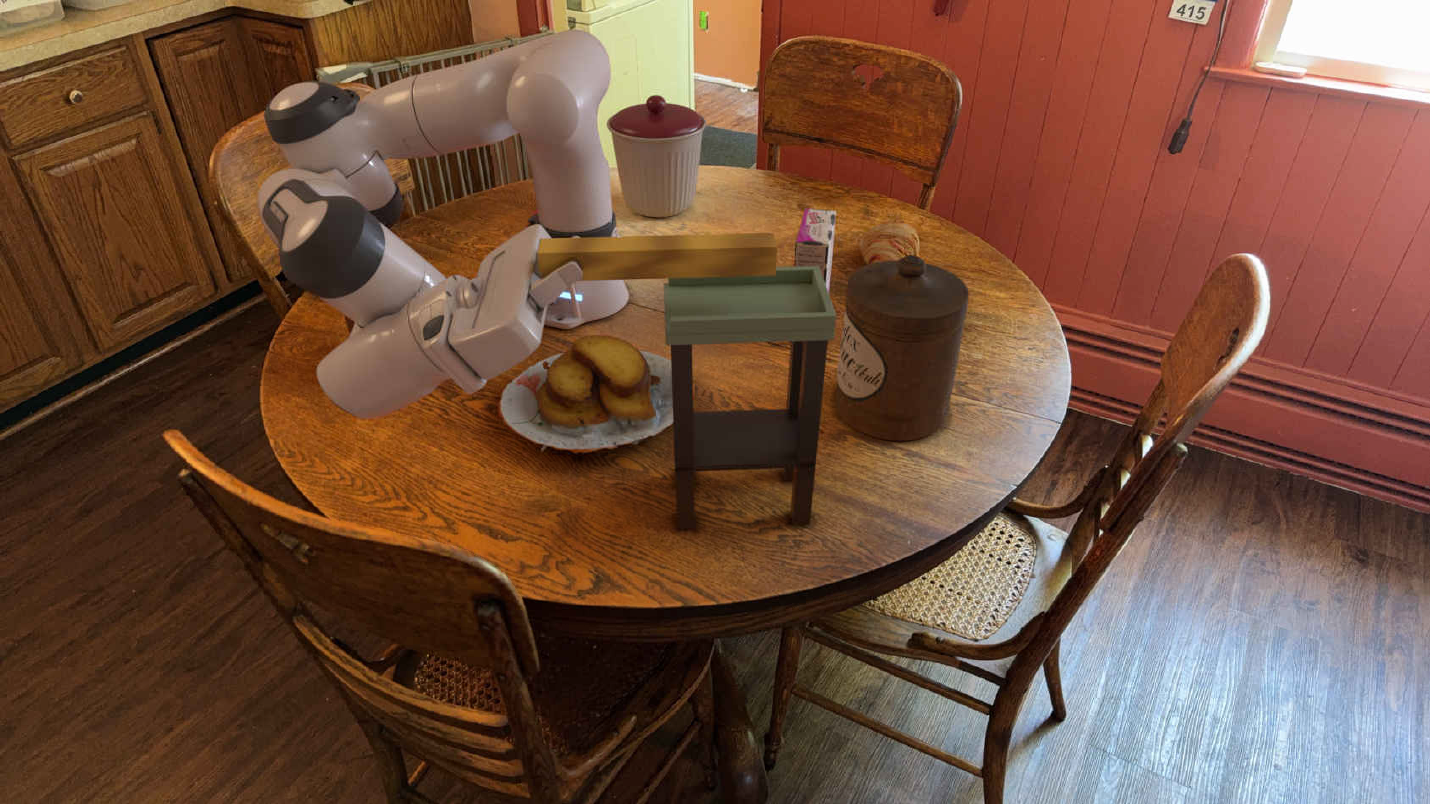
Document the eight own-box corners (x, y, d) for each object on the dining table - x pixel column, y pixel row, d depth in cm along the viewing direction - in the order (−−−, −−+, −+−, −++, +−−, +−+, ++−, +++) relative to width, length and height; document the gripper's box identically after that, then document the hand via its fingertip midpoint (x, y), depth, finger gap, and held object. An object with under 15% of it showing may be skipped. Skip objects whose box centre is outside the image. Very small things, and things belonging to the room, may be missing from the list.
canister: (721, 197, 169) (722, 88, 156) (681, 234, 156) (678, 118, 143) (640, 182, 175) (635, 76, 162) (595, 216, 162) (585, 103, 149)
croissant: (893, 310, 141) (923, 276, 135) (842, 277, 140) (870, 241, 135) (909, 251, 157) (936, 219, 151) (863, 222, 156) (888, 187, 151)
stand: (672, 532, 95) (664, 321, 79) (670, 473, 103) (663, 269, 87) (814, 526, 96) (836, 315, 80) (802, 467, 104) (819, 265, 88)
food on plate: (465, 444, 107) (455, 402, 104) (555, 343, 126) (550, 304, 123) (653, 487, 101) (650, 444, 97) (719, 374, 120) (719, 334, 116)
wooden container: (826, 376, 120) (840, 232, 106) (930, 373, 120) (957, 229, 107) (845, 444, 108) (863, 291, 95) (960, 440, 108) (995, 287, 95)
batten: (541, 282, 80) (537, 253, 78) (544, 267, 82) (540, 238, 80) (776, 275, 81) (777, 246, 79) (772, 260, 83) (773, 232, 81)
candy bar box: (797, 303, 136) (804, 206, 126) (828, 306, 135) (838, 209, 125) (787, 340, 127) (794, 239, 117) (821, 344, 126) (830, 243, 116)
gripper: (498, 293, 93) (604, 232, 90) (467, 406, 77) (595, 337, 74) (460, 249, 90) (569, 183, 86) (419, 357, 74) (551, 282, 70)
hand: (581, 255), depth 80 cm, fingers closed on batten, 3 cm apart
